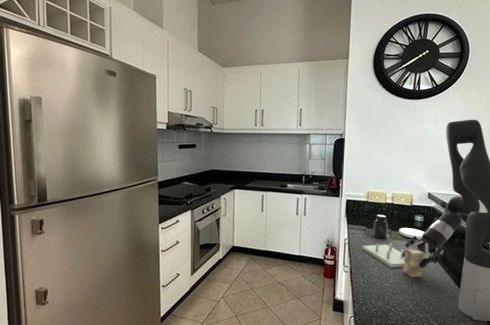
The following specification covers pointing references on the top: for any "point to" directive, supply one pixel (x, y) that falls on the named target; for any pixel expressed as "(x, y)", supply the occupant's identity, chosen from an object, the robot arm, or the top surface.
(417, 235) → the plastic lid
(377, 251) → the peg board
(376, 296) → the top surface
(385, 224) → the supplement bottle
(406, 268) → the ash block
